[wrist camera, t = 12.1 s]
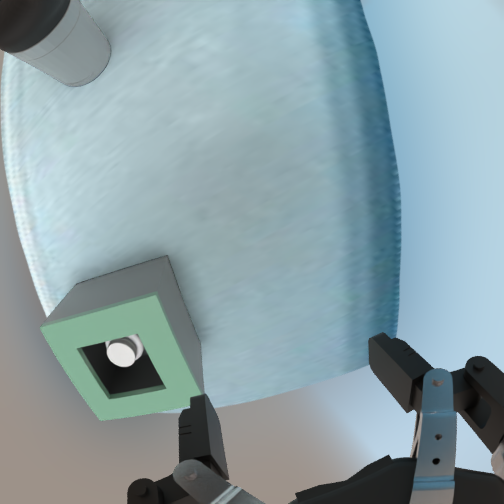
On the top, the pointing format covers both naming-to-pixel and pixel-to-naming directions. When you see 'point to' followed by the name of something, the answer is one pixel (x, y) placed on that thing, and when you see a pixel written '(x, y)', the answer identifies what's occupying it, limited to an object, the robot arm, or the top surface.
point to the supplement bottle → (124, 350)
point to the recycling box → (121, 325)
